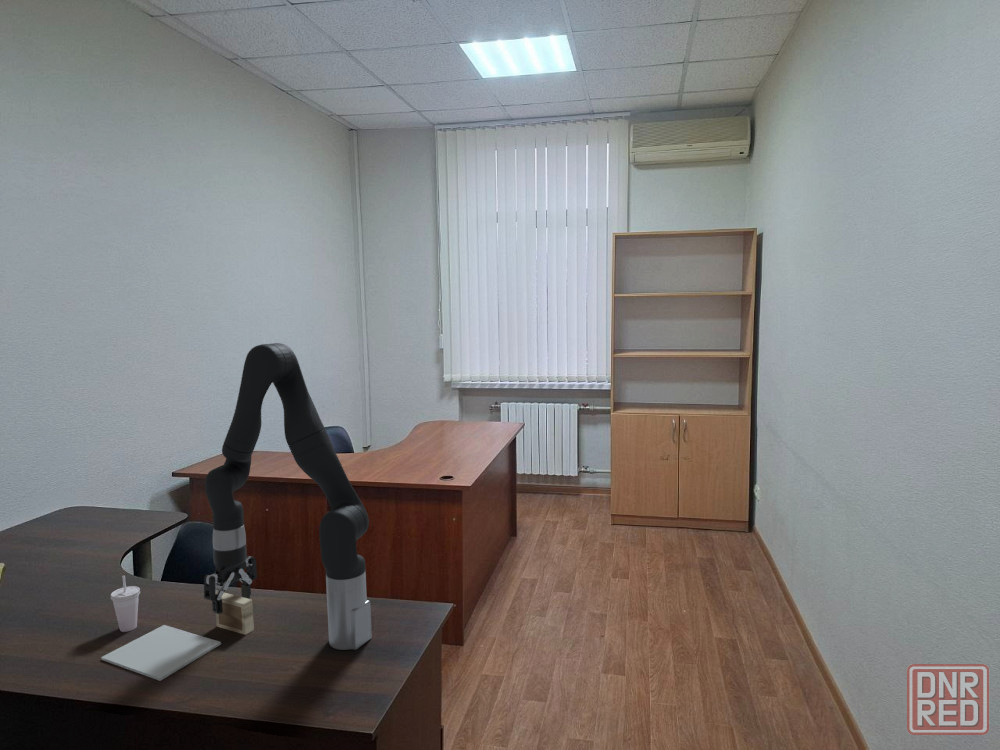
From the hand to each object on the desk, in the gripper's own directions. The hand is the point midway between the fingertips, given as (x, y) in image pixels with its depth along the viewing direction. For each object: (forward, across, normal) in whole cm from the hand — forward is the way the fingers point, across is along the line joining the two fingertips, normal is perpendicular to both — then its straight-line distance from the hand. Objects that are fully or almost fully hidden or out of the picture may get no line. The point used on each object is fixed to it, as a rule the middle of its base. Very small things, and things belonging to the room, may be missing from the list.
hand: (232, 605), depth 158 cm
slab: (+6, 0, 0) cm, 6 cm away
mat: (+6, -15, +6) cm, 17 cm away
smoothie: (+7, -11, +24) cm, 28 cm away
